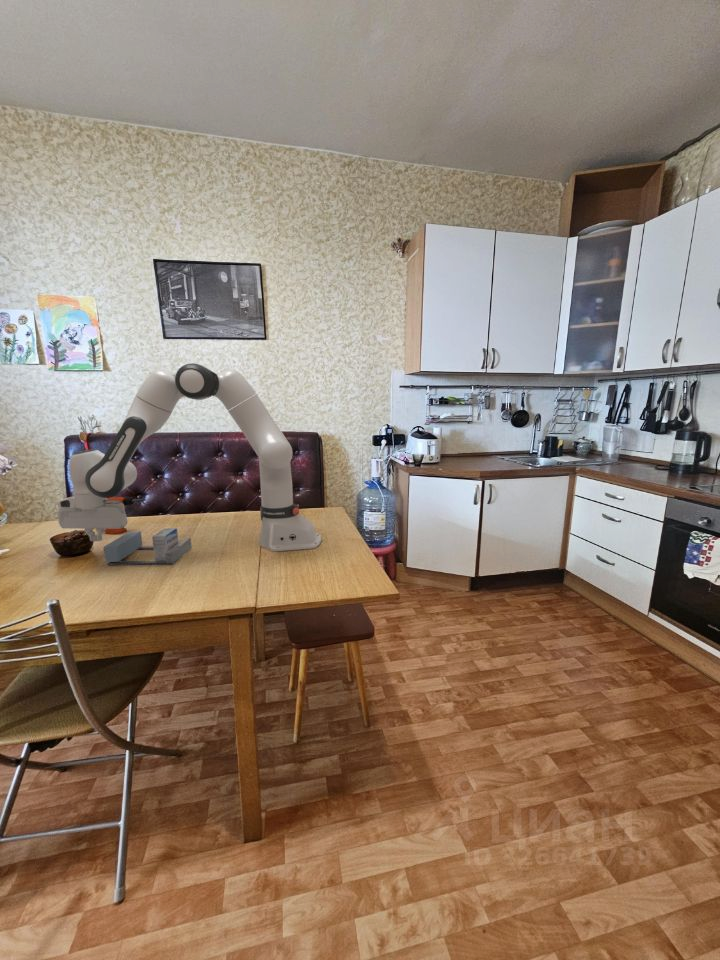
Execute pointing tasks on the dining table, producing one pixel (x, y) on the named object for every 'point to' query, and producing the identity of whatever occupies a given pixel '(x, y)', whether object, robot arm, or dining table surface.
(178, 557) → the vise
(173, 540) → the medicine box
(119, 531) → the toy drill
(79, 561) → the dining table surface
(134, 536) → the vise jaw
